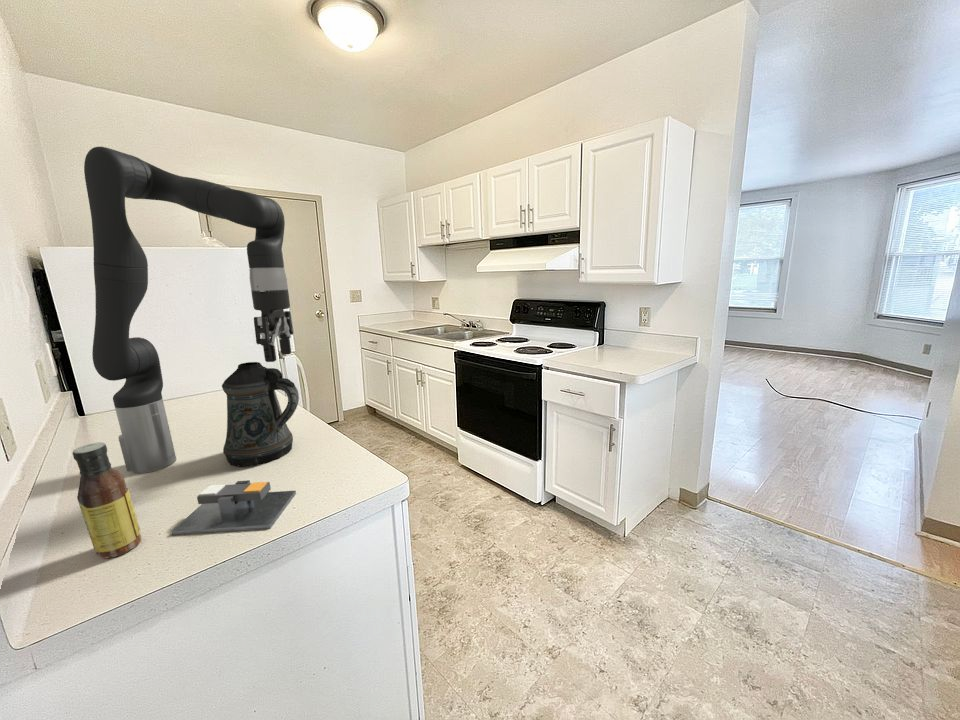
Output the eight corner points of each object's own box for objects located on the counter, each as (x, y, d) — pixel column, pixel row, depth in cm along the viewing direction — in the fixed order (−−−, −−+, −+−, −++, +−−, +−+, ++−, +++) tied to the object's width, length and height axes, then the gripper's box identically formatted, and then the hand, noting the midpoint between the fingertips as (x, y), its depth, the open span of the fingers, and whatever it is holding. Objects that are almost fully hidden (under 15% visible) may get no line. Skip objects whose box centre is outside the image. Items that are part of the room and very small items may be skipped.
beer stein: (228, 449, 111) (211, 362, 105) (303, 434, 119) (291, 353, 114) (222, 474, 96) (202, 375, 91) (307, 455, 105) (294, 363, 99)
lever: (198, 504, 77) (196, 495, 76) (211, 492, 81) (209, 484, 80) (261, 500, 77) (259, 491, 77) (270, 489, 81) (269, 480, 81)
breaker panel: (172, 535, 73) (166, 510, 72) (211, 499, 85) (207, 477, 84) (270, 528, 74) (265, 503, 73) (296, 493, 86) (292, 472, 85)
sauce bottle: (116, 538, 73) (88, 439, 69) (151, 535, 74) (126, 436, 69) (84, 563, 67) (52, 455, 63) (123, 560, 67) (94, 452, 63)
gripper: (267, 287, 97) (275, 352, 100) (236, 290, 83) (247, 365, 86) (298, 286, 97) (305, 351, 101) (272, 289, 83) (282, 363, 87)
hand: (278, 357), depth 94 cm, fingers open, 8 cm apart
